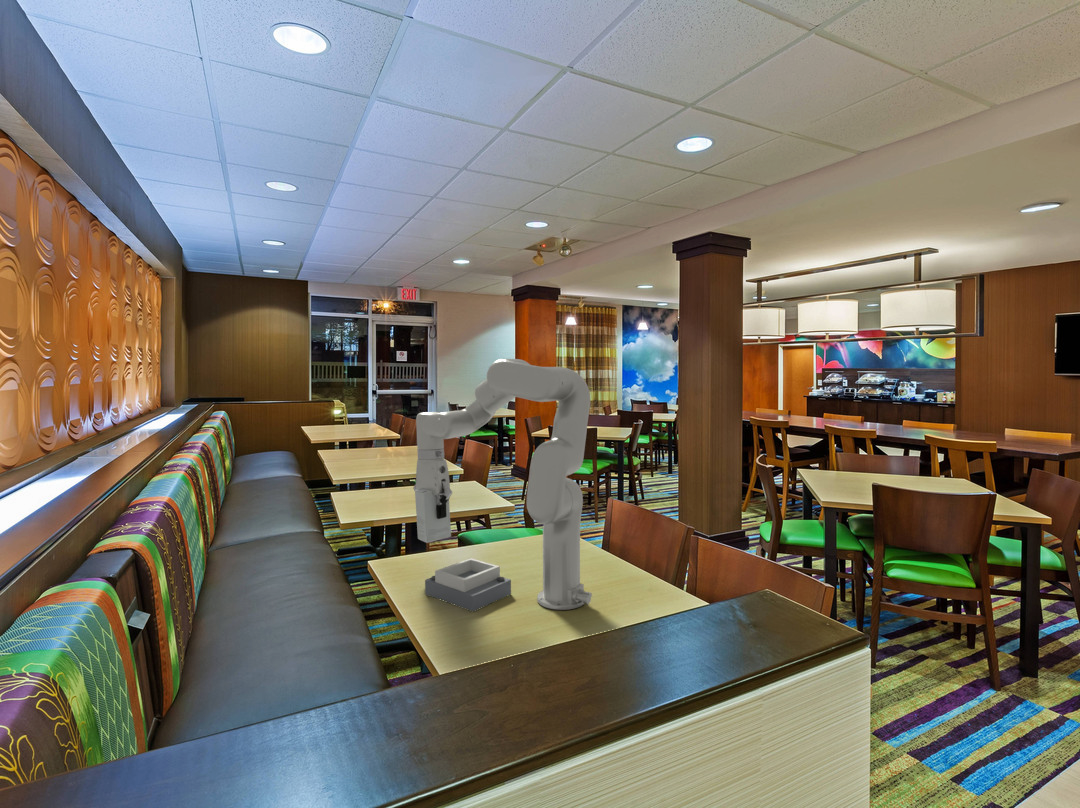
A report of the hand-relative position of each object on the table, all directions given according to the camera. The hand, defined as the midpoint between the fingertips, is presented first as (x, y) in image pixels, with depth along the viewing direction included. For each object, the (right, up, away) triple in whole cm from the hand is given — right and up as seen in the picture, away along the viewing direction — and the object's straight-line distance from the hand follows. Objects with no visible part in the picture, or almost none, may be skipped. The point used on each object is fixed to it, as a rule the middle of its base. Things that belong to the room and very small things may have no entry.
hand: (433, 515), depth 163 cm
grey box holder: (+12, -18, -14) cm, 26 cm away
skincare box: (0, -7, 0) cm, 7 cm away
